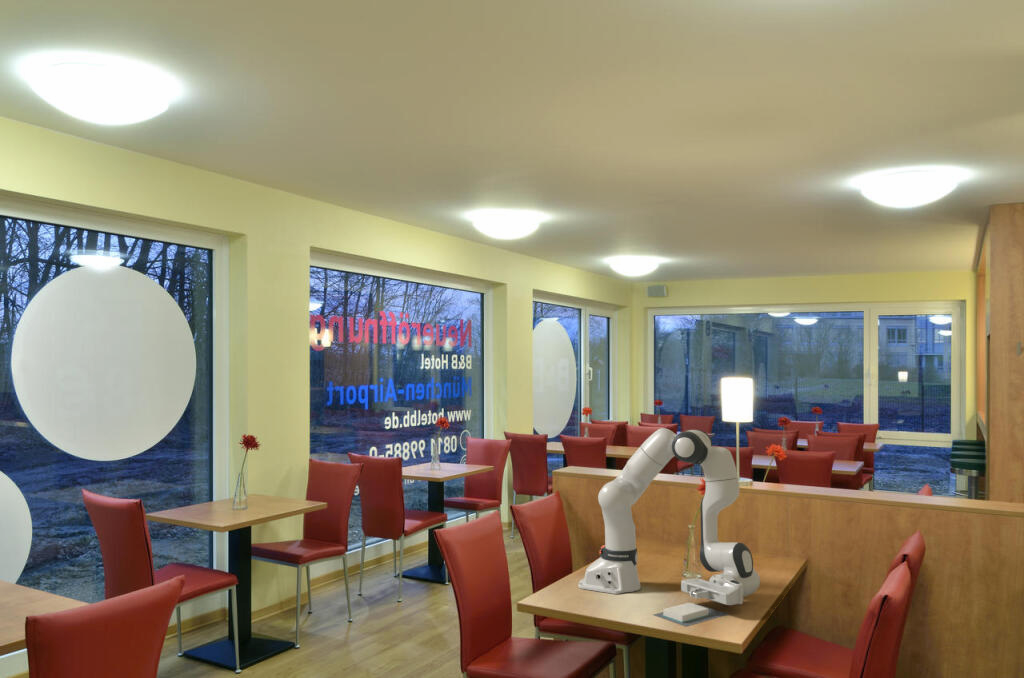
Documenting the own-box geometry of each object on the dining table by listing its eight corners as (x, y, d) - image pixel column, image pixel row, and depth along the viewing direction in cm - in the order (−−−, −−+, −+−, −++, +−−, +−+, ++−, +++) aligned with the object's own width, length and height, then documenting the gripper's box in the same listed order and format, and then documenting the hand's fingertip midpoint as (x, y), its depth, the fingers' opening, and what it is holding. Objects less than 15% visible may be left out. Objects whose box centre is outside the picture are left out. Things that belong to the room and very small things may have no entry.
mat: (695, 605, 254) (695, 603, 254) (729, 616, 242) (729, 614, 242) (652, 616, 242) (652, 614, 242) (685, 628, 231) (685, 626, 231)
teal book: (689, 602, 248) (663, 609, 241) (708, 608, 241) (682, 615, 234) (689, 609, 248) (663, 616, 241) (708, 615, 241) (682, 622, 234)
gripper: (697, 571, 260) (668, 578, 252) (746, 585, 243) (717, 592, 235) (697, 590, 259) (669, 597, 252) (747, 605, 243) (718, 613, 235)
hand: (693, 595), depth 243 cm, fingers closed
